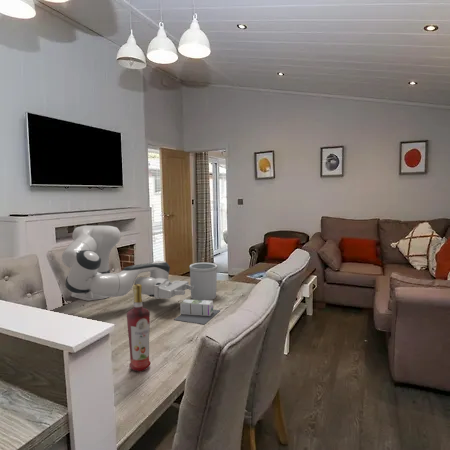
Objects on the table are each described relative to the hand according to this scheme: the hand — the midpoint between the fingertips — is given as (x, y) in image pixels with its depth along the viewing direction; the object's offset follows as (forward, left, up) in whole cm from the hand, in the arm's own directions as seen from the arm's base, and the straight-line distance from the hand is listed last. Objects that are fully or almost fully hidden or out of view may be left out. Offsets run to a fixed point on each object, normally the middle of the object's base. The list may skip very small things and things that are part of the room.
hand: (188, 290), depth 169 cm
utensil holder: (-2, +21, -10) cm, 24 cm away
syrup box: (-1, -5, -7) cm, 8 cm away
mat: (+7, -5, -10) cm, 13 cm away
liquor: (+10, -55, -10) cm, 57 cm away
